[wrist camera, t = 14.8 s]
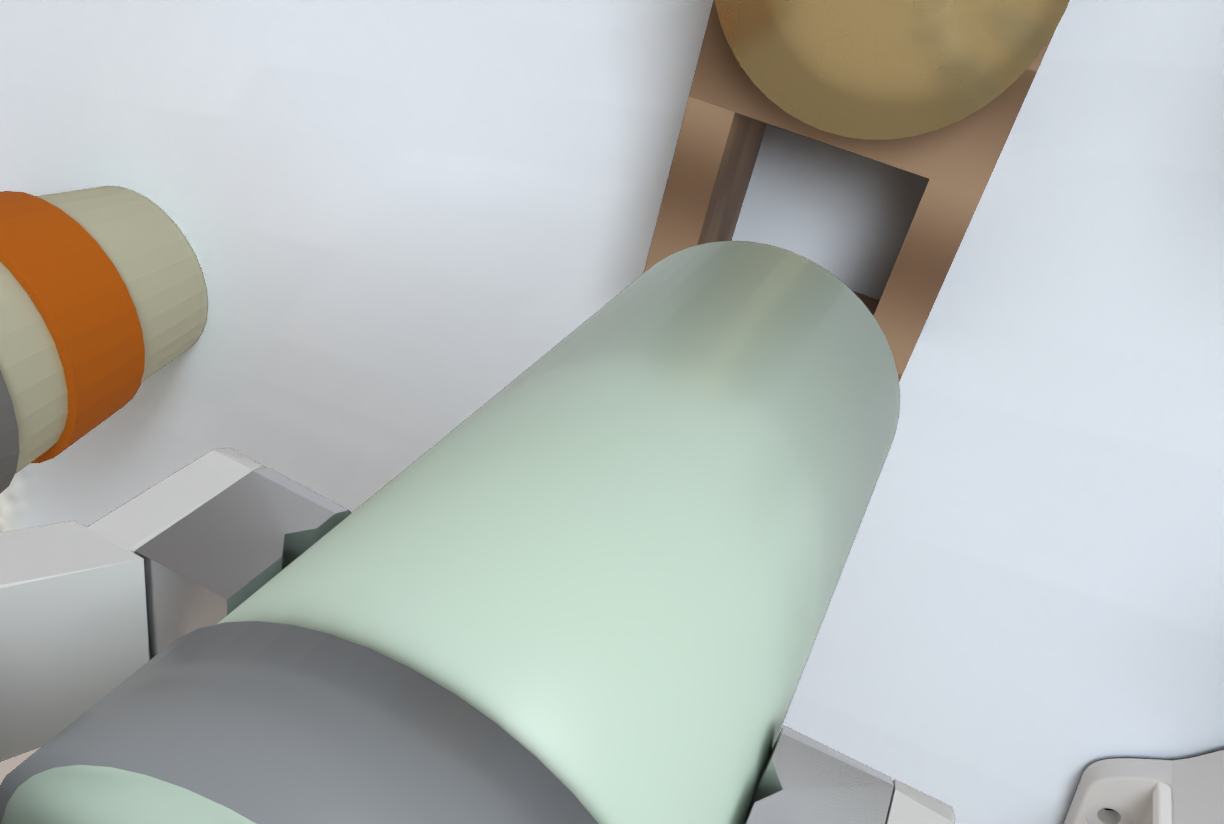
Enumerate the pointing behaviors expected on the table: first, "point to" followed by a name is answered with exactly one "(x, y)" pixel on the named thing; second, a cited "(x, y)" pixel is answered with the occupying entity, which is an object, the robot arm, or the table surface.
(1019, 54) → the gold rounded dome
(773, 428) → the cartridge
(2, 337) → the reusable coffee cup
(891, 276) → the housing
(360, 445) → the table surface
